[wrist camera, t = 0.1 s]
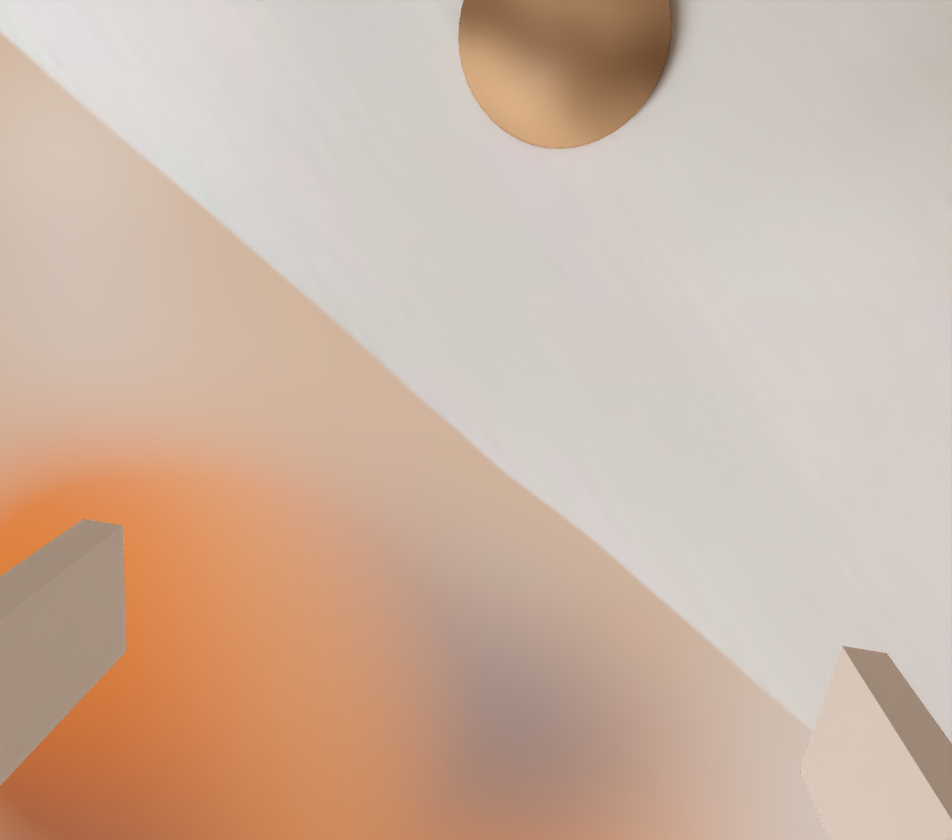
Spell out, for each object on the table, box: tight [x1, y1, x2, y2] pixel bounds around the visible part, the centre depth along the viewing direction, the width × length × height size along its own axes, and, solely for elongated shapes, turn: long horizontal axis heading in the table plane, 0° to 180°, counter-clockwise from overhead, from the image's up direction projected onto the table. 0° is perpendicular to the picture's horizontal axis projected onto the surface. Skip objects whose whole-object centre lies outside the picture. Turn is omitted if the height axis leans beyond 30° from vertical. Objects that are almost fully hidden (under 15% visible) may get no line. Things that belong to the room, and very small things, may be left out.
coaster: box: [459, 0, 671, 149], centre depth 35 cm, size 10×10×1 cm
